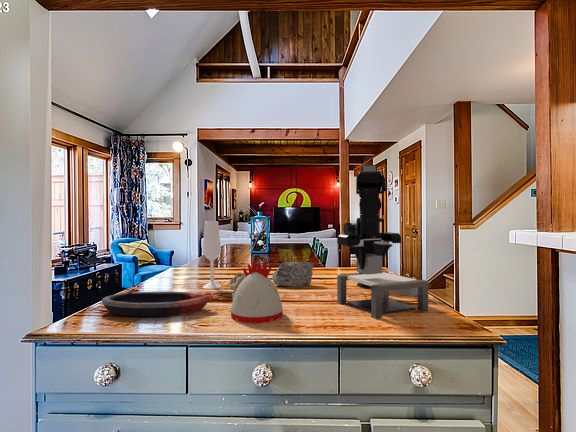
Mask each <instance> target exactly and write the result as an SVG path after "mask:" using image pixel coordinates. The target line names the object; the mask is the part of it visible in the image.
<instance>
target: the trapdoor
mask: <svg viewBox="0 0 576 432" xmlns="http://www.w3.org/2000/svg"><path fill="white" fill-rule="evenodd" d="M347 279H349V280H348V281H353V282H356V283H357V284H358V283H362V284H365V285H368V286H371V285H379V284H388V283H398V282H407V281H416V280H417V279H415V278H411V277H406V276H401V275H398V274H393V273H390V272H389V273H385V272H383V273H379V274H369V275H367V274H362V275H351V276H347ZM393 291H394V292H396V293H400V294H403V295H407V296H410V297H416V296H418V288H410V289H401V290H393ZM393 291H392V292H393Z"/></svg>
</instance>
